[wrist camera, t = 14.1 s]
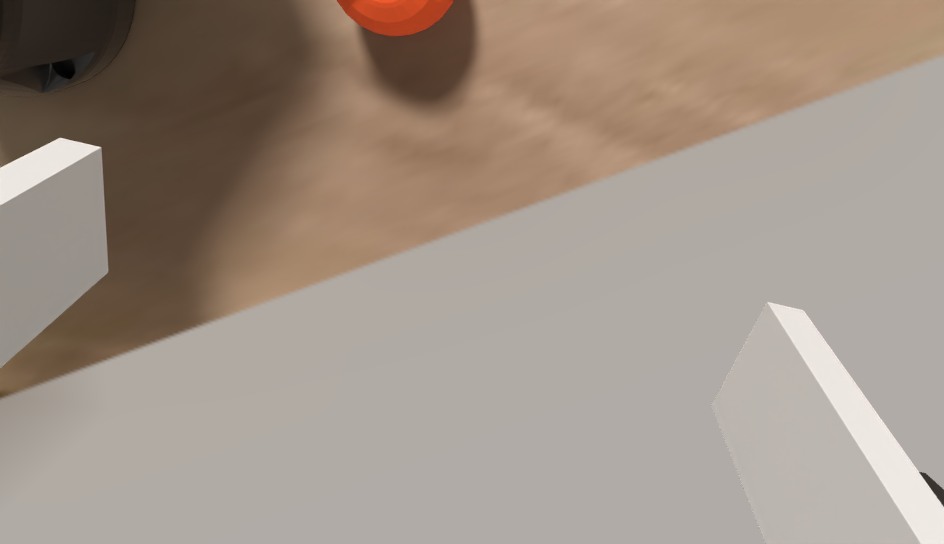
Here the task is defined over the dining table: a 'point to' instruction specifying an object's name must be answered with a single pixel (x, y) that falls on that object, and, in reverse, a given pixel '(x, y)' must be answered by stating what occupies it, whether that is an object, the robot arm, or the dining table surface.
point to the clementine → (395, 14)
